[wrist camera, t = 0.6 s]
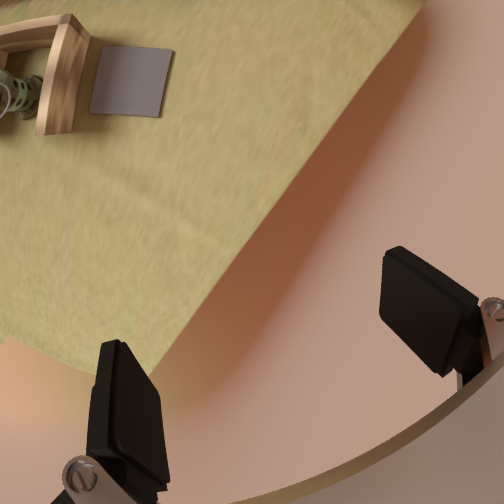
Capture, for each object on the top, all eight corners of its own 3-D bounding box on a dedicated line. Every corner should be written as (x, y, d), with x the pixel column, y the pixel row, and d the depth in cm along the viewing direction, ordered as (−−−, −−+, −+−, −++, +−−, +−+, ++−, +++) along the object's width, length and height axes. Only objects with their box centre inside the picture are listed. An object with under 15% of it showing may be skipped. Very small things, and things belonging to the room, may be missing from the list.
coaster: (104, 47, 25) (103, 46, 25) (172, 51, 28) (172, 49, 28) (90, 113, 29) (88, 113, 28) (158, 117, 32) (158, 117, 31)
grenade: (1, 112, 24) (-65, 116, 11) (29, 70, 23) (-32, 52, 10) (32, 139, 27) (-31, 152, 14) (61, 96, 26) (5, 84, 13)
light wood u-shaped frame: (4, 47, 19) (-27, 34, 12) (91, 36, 24) (72, 13, 16) (-12, 136, 24) (-48, 143, 16) (71, 132, 29) (44, 135, 21)
